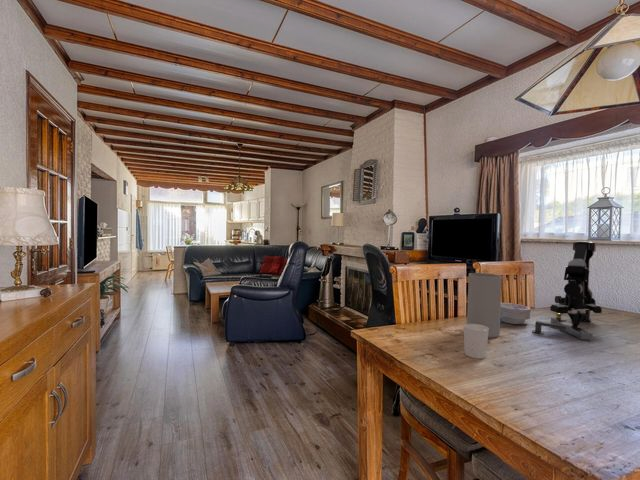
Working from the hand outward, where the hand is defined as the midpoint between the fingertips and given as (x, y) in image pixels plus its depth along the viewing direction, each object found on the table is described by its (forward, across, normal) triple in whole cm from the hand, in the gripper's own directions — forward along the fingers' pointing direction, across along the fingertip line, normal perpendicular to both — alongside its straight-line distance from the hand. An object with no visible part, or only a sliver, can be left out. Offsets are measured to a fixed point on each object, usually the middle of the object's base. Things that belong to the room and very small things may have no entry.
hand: (575, 328), depth 149 cm
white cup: (0, +58, +32) cm, 67 cm away
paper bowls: (+1, +20, -14) cm, 25 cm away
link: (+1, +3, +1) cm, 3 cm away
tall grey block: (0, +44, +7) cm, 44 cm away
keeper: (+1, +15, +5) cm, 16 cm away
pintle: (+2, +2, -8) cm, 9 cm away
